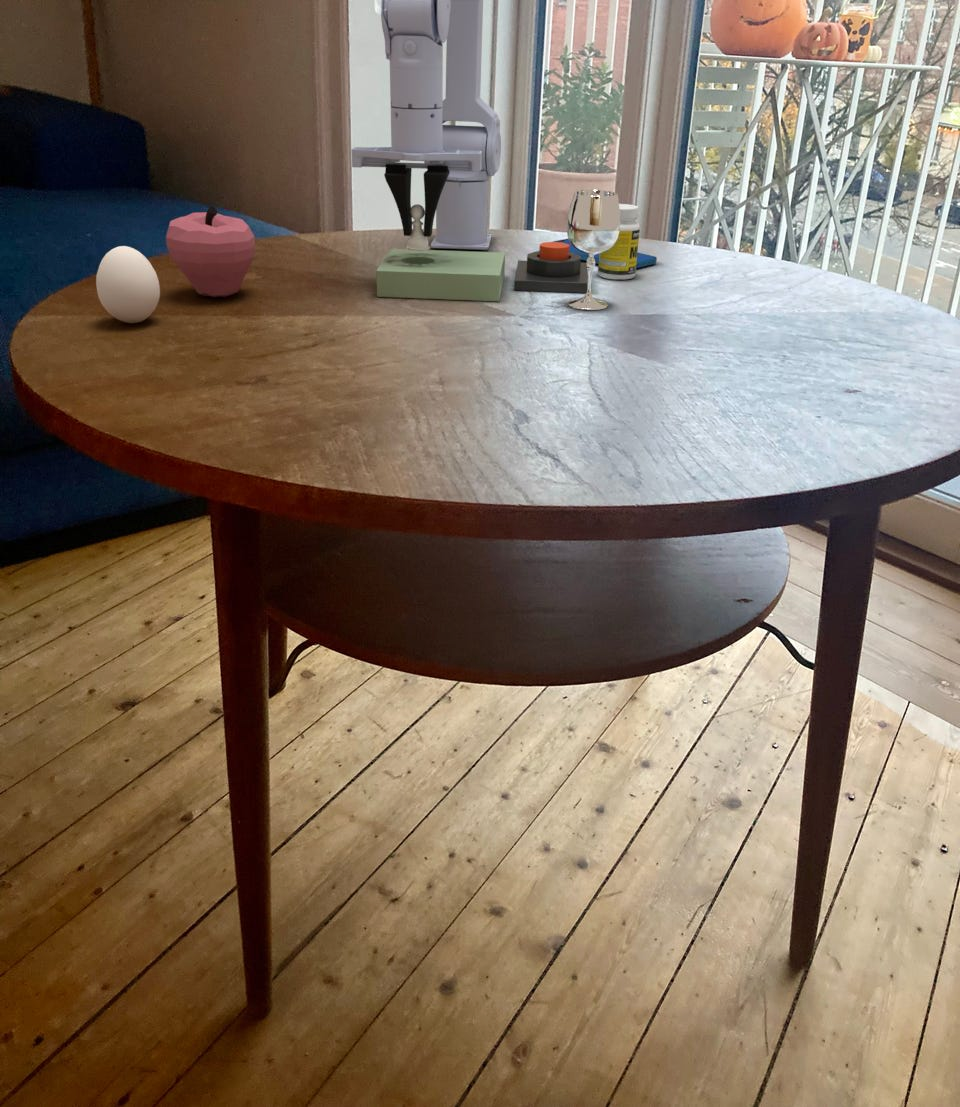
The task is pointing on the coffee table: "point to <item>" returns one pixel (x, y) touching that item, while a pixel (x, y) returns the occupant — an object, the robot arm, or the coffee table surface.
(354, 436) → the coffee table surface
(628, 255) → the supplement bottle
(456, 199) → the robot arm
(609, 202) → the wineglass
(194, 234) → the apple
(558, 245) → the button
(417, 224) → the chess pawn
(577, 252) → the smartphone
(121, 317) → the egg
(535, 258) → the panel
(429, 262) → the pod holder
